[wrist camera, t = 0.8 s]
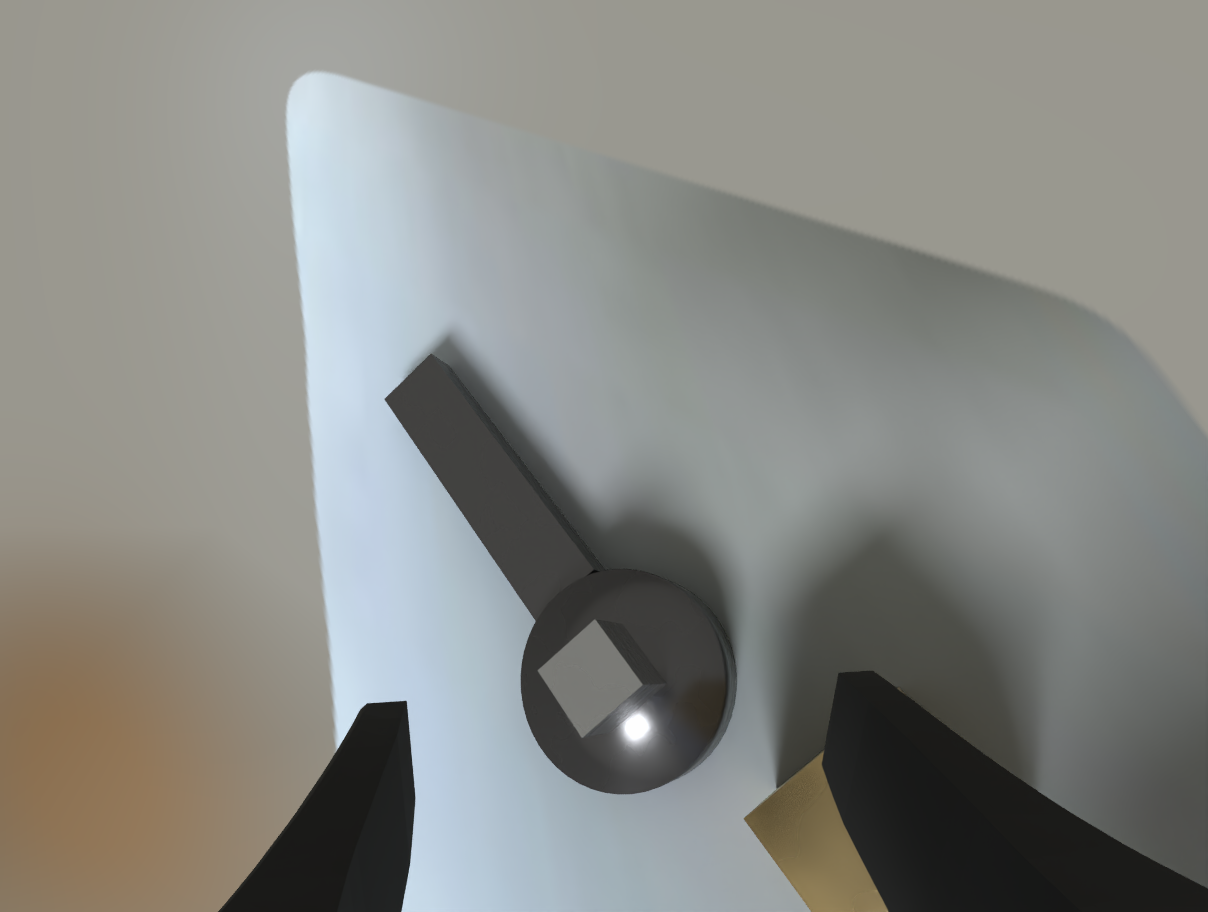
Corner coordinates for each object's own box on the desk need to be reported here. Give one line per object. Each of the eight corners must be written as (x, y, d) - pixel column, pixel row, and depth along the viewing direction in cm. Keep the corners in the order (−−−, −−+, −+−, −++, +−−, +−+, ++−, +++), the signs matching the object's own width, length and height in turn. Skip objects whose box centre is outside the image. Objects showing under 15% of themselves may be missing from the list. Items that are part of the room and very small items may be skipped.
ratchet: (781, 695, 24) (756, 700, 20) (622, 830, 25) (568, 860, 21) (483, 332, 32) (424, 285, 28) (371, 441, 33) (298, 410, 29)
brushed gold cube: (1034, 835, 21) (1070, 883, 16) (895, 945, 21) (891, 1022, 16) (898, 687, 23) (896, 690, 18) (776, 789, 23) (743, 818, 19)
